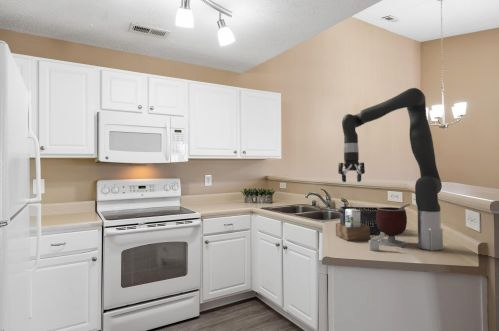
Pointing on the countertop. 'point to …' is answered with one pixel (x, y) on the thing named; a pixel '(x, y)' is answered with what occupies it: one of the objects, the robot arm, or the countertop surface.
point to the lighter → (376, 242)
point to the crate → (353, 232)
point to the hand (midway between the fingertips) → (351, 181)
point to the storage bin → (364, 217)
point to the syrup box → (352, 218)
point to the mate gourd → (391, 223)
